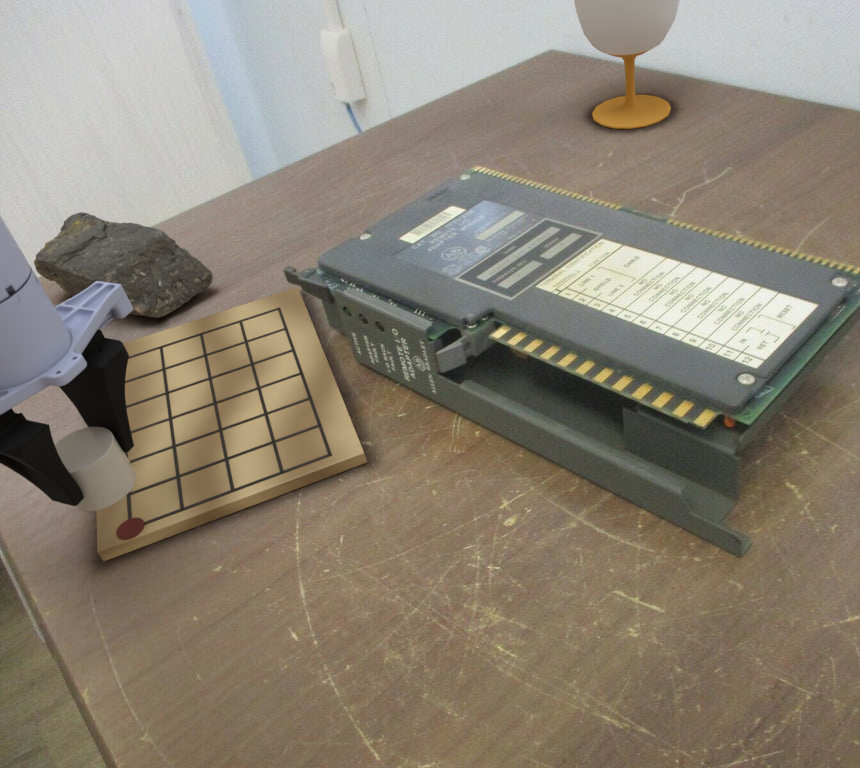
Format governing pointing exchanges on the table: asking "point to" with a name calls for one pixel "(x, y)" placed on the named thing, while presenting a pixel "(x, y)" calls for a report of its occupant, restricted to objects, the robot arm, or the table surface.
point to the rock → (123, 263)
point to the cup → (627, 52)
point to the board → (226, 420)
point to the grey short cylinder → (97, 467)
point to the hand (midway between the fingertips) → (94, 472)
